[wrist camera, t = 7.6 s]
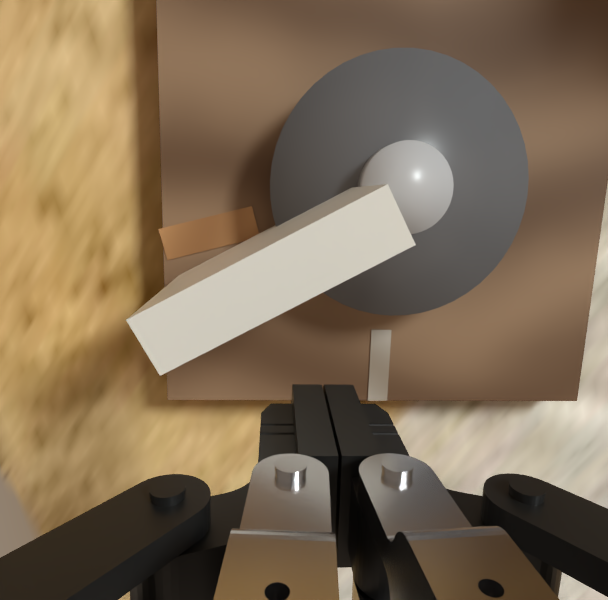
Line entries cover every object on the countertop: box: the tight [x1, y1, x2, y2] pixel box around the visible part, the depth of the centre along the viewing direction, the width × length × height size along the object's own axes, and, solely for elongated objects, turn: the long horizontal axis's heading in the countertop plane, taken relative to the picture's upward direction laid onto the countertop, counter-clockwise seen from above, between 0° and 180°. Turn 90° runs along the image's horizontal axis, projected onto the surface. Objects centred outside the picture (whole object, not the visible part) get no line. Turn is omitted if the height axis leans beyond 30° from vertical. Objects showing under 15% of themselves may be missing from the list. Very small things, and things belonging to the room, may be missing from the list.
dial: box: [126, 48, 529, 376], centre depth 16 cm, size 13×9×7 cm
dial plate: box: [156, 0, 608, 401], centre depth 20 cm, size 17×17×2 cm
